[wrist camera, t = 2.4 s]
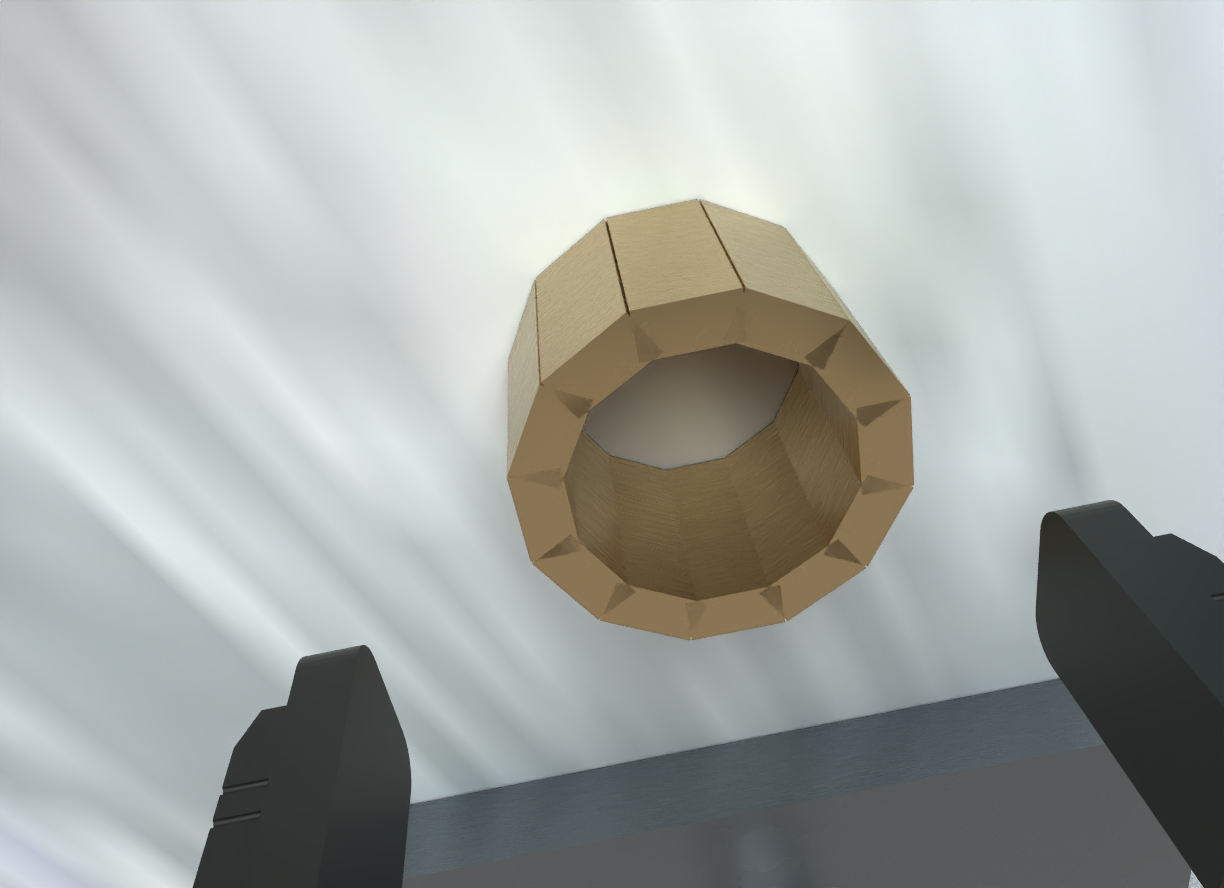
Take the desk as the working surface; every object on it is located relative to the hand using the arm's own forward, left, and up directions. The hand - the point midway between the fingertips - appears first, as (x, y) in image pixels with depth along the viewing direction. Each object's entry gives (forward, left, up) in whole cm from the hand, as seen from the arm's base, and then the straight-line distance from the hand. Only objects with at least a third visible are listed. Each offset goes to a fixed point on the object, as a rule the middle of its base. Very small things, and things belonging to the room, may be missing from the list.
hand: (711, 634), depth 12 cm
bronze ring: (-1, 0, -8) cm, 8 cm away
